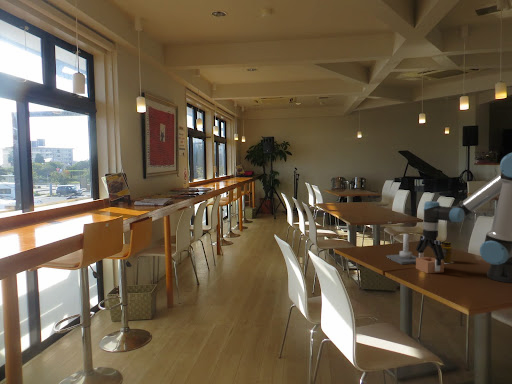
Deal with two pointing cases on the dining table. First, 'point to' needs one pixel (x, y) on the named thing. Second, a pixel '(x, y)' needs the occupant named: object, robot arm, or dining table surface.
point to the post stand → (404, 253)
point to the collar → (428, 265)
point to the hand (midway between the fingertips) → (428, 267)
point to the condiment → (446, 252)
